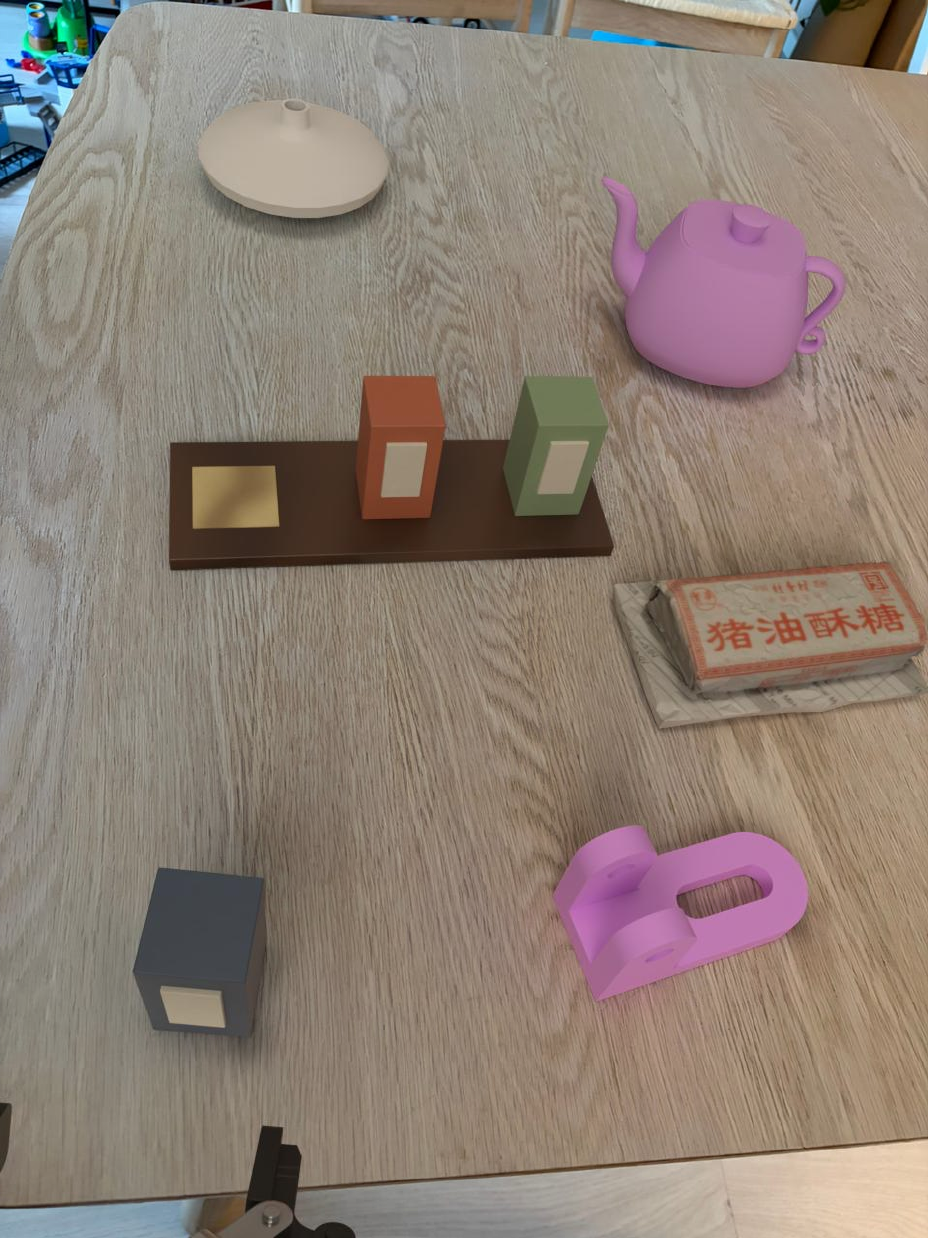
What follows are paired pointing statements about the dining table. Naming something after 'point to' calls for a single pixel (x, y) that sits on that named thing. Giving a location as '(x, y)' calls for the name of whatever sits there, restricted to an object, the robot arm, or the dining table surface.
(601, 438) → the green block
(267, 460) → the brown board
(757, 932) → the bracket
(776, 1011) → the dining table surface
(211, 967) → the navy box with label
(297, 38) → the dining table surface
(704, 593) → the packaged product
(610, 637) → the dining table surface
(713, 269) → the teapot
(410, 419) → the orange block
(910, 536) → the dining table surface
